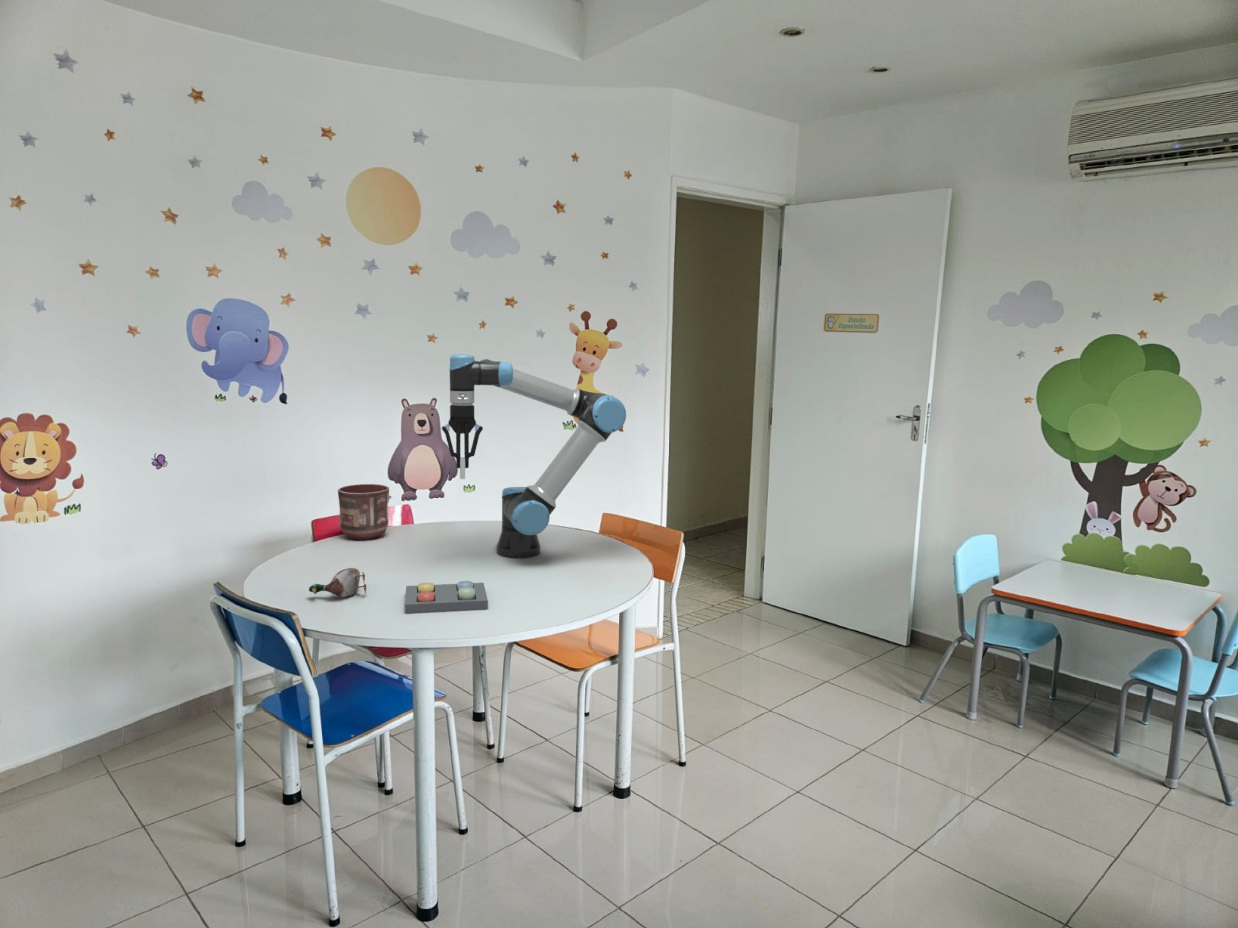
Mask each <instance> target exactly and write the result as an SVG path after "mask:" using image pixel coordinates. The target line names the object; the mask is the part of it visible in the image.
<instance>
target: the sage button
mask: <svg viewBox="0 0 1238 928" xmlns="http://www.w3.org/2000/svg"><path fill="white" fill-rule="evenodd" d="M474 599H475V589H474V588H472V587H463V588H460V589H459V600H474Z"/></svg>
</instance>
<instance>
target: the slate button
mask: <svg viewBox="0 0 1238 928" xmlns="http://www.w3.org/2000/svg"><path fill="white" fill-rule="evenodd" d="M473 583H474V581H470V580H461V581H458V582H457V583H456V584H457V591H459V589H460V588H463V587H472V588H473Z"/></svg>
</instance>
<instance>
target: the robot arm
mask: <svg viewBox="0 0 1238 928" xmlns="http://www.w3.org/2000/svg"><path fill="white" fill-rule="evenodd" d="M448 369H449V370H448V371H449V403H450V405H449V419H448V423H446V424H445V425H442V426H441V430H442V431H443V433H444V434H445V435H444V436H445V437H446V439H445V440H446V442H447V445H448V449H449V450H448V451H449V454H450V456H451V457H453V458H455V459H456V460H455V462H456V463H455V464H456V469H459V479H460V480H466V469H469V466H470V463H469V462H470V458H471V457H474V456H475V455H476V454H475V453H476V451H477V446H478V442H479V438H480V434H481V432H482V431H483V430H484V429H483V428H484V427H483V426H482V425H480V424H478V423H477V421H476V419H475V405H474V403H475V386H494V387H496V388H499V389H502V390H506V391H508V392H512V393H514V394H516V395H521V397H526V398H528V399H532V400H534V401H537V402H540V403H543V404H545V405H549V406H552V407H554V408H556V409H560V410H563V411H565V412H566V414H567V415H569V416H571V417H574V418H577V428H576V429H575V431H574V432H573V433H572V434H571V436H569V438H568V440H567V441H566V443H565V444H564V445H563V446H562V447H561V449H560V450H559V452H558V453H557V455H555V457H554V459H553V460H552V461H551V462H550V464H549V465H548V466H547V468H546V469H545V470H544V472H543V473H542V474H541V476H540V477H539V478H538V479H537V481H536V482H535V483H534V484H533V485H531V484H530V485H527V486H511V487H510V486H509V487H505V488H503V490H502V493H501V494H502V495H501V516H502V517H501V533H500V535H499V538H498V541H497V544H496V553H497V554H498V555H499V556H502V557H505V558H506V557H507V558H515V559H519V558H521V559H522V558H529V557H534V556H538V555H539V554H540V553H541V544H540V540H539V537H538V535H539V534H540V533H542V532H544V531H545V529H546V528H547V527H548V526H549V522H550V518H551V517H550V515H551V514H552V513H553V511H555V508H556V507H557V506H556V500H557V499H558V497H559V496H560V495H561V494H562V492H563V490H564V489H565V488H566V486H567V485H568V484H569V483H570V481H571V480H572V479H573V477H574V476H575V475H576V473H577V472H578V471H579V469H580V468H581V467H582V466H583V464H584V463H585V462H586V460H587V459H588V458H589V456H590V455H591V453H592V452H593V451H594V449H595V448H596V447H597V446H598V445H599V444H600V443H604V442H607V440H608V439H609V438H610V436H611V434H613V433H615V432H618V431H620V429H621V428H622V427H624V425H625V423H626V421H627V420H626V419H627V411H626V407H625V404H624V403H623V402H622V401H621V400H620V399H619V398H616V397H615V396H613V395H610V394H604V393H600V392H592V391H587V390H583V389H581V388H578V387H577V388H574V389H572V388H569V387H567V386H563V385H560V384H558V383H555V382H552V381H549V380H546V379H544V378H540V377H537V376H535V375H532V374H529V373H526V372H524V371H521V370H518V369H516V368H513V365H512V363H511V362H509V361H504V360H503V361H495V360H490V359H487V358H485V359H481V360H479V361H478V360H475V355H473V354H452V355H451V356H450V357H449V368H448ZM450 428H451V429H452V431H453V432H454V433H455V450H454V447H453V444H452V443H453V442H452V438H451V435H450V430H451V429H450ZM473 429H474V431H475V432H474V435H473V436H474V437H473V441H472V444H471V448H470V447H469V446H470V443H469V442H470V438H469V437H470V436H469V435H470V433H471V431H472V430H473ZM461 435H463V436H464V438H463V440H464V441H463V442H464V449H463V450H464V451H463V452H464V453H463V454H464V456H463V457H462V456H461ZM469 448H470V449H469ZM469 450H470V451H469Z"/></svg>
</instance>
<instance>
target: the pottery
mask: <svg viewBox="0 0 1238 928" xmlns="http://www.w3.org/2000/svg"><path fill="white" fill-rule="evenodd" d="M337 496H338V504H339V526H340V529H341V531H342V533H343V534H344V536H345V537H347V539H349V540H353V541H372V540H375V539H378V538H380V537H381V536H383V535H384V533H385V532H386V530H387V528H388V526H389V511H388V510H389V496H390V487H389V486H386V485H383V484H374V483H373V484H372V483H363V484H362V483H361V484H351V485H345V486H342V487H339V488H338V489H337Z"/></svg>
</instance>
